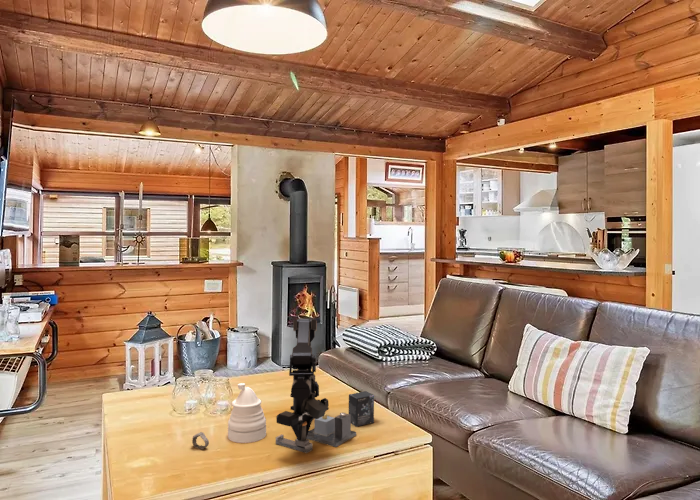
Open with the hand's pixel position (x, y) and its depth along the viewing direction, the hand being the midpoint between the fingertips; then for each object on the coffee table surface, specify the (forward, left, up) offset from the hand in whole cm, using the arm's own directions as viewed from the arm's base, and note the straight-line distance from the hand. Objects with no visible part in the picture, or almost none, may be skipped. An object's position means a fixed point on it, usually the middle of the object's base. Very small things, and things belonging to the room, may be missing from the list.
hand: (302, 438), depth 165 cm
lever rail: (-4, 0, -4) cm, 5 cm away
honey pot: (-23, -1, -4) cm, 23 cm away
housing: (-1, +14, -2) cm, 14 cm away
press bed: (+1, +14, -4) cm, 14 cm away
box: (+3, +31, -4) cm, 31 cm away
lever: (0, 0, -2) cm, 2 cm away
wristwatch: (-28, -17, -4) cm, 33 cm away
